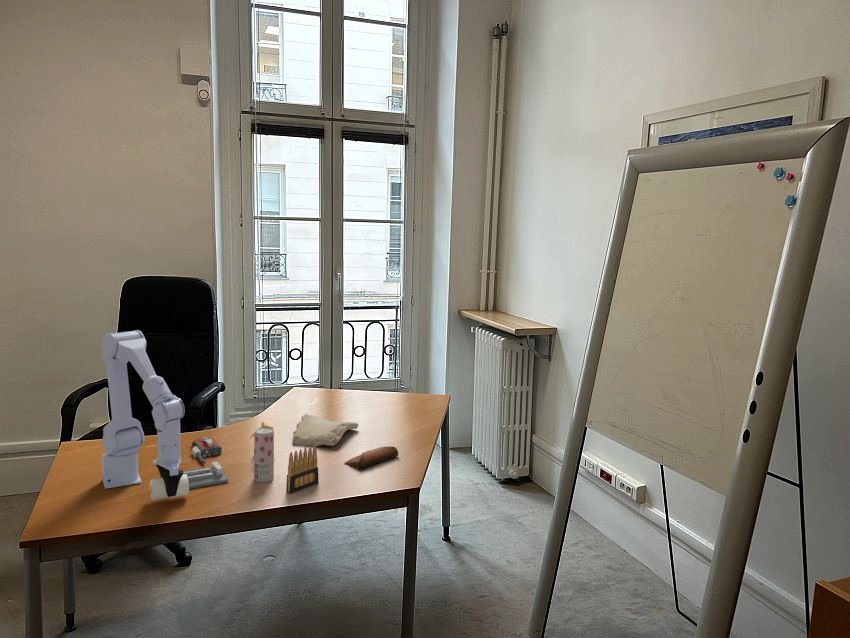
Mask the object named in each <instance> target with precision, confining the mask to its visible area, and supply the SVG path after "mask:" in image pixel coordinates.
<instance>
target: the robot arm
mask: <svg viewBox="0 0 850 638" xmlns="http://www.w3.org/2000/svg"><path fill="white" fill-rule="evenodd" d="M100 347H101V357H102V361H103V362H104V363H105V364H106V365H105V366H106V374H107V383H108V384H107V386H108V393H109V402H110V410H111V411H110V412H111V420H110V421H109V422H108V423H107V424H106V425H105V426H104V427H103V429H102V430H103V431H102V432H103V435H102V439H101V443H102V444H101V445H102V448H103V450H104V451H105V452H106V453H102V454H101V471H102V472H101V480H102V483H103V487H104V489H110V488H111V489H112V488H118V487H125V486H131V485H136V484H141V483H142V479H141V477H140V474H139V459H138V458H139V455H138V453H139V452H138V451H139V450H140V449H141V447H142V446H143V444H144V442H145V434H144V431H143V427H142V424H141V421H139V420H138V419H136V418H134V417H133V413H132V405H131V404H132V403H131V394H130V384H129V375H128V365H127V364H128V362H129V363H131V365H132V366H133V368H134V369H135V371H136V372H137V374H138V375H139V376H140V378H141V380H142V381H143V384H142V390H143V392H144V394H145V395H146V398H147V399H148V401H149V402H150V404H151V407H152V410H151V415H152V418H153V421H154V427H155V429H156V438H157V439H156V440H157V441H156V442H157V448H156V449H157V459H154V460H152V464H153V465H154V466H156V467H157V470H158V472H159V477H160V478H163V480H164V483H165V488H166V493H167V496H168V497H170V498H172V497H171V496H176V494H177V489H178V485H179V481H180V479H181V477H182V475H183V473H184V472H183V471H184V470H183V469H179V467H180V464H181V462H182V457H181V419H183V418H184V416H185V413H186V412H185V411H186V410H185V409H186V408H185V404H184V403H183V400H182V399H181V398H179V397H177V396H176V395H175V394H173V393H172V391H171V390H170V388H169V385H168V384H167V382H166V381H165V379H164V377H162V376H159V375H157V374H156V372H155V368H154V367H153V365H152V363H151V360H150V358H149V356H148V354H147V351H146V350H147V340H146V338H145V335H144V334H143V332H142V331H141V330H139V329H135V330H131V331H121V332H114V333H111V332H108V333H106V334H104V336H103V337H102V339H101V341H100ZM176 497H177V496H176Z"/></svg>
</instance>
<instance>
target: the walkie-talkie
mask: <svg viewBox="0 0 850 638" xmlns="http://www.w3.org/2000/svg"><path fill="white" fill-rule="evenodd" d="M191 446H192V447H193V448H192V449H191V455H192V456H193V458H194V459H198V460H199V461H200V462H201V463H203V464H206V463H207V462H206V459H204V458H206V456H208V457H212V456H211V455H214V456H218V454H220V455H222V449H223V448H222V446H221V445H220V444H219V443H218V442H217V441H216V440H215V439H214V438H213V437H210V436H207V437H198V438H195V439H193V441H192V442H191ZM196 457H197V458H196Z"/></svg>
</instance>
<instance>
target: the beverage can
mask: <svg viewBox="0 0 850 638" xmlns="http://www.w3.org/2000/svg"><path fill="white" fill-rule="evenodd" d="M273 430H274V429H273ZM273 430H272V429H270V428H260V429H259V428H257V429H255V430H254V433H255V434H254V433H253V434H254V436H253V453H254V454H253V479H254V480H255V482H257V483H268V482H271V481H273V479H274V477H275V476H274V473H275V472H274V470H275V467H274V466H275V465H274V464H275V458H274V457H275V455H274V454H275V453H274V452H275V451H274V449H275V447H274V446H275V432H274V433H273Z"/></svg>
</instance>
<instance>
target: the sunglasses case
mask: <svg viewBox="0 0 850 638" xmlns="http://www.w3.org/2000/svg"><path fill="white" fill-rule="evenodd" d="M396 456H397V457H398V456H399V451H398V449H397V447H395V446H392V445H391V446H382V447H377V448H374V449H370V450H367V451H365V452H362V453H361V454H359V455H358V456H354V457H352V458H350V459H348V460H347V461H345V462H344V463H343V465H345V466H347V465H348V466H347V467H349V466H350V468H352V467H353V468H352V469H354V468H355V470H357V469H358V470H357V471H361V470H364V469H366V468H369V467H370V466H373V465H375V464H377V463H380V462H381V463H382V462H383V461H386V460H389V459H391V458H395V457H396Z"/></svg>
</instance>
